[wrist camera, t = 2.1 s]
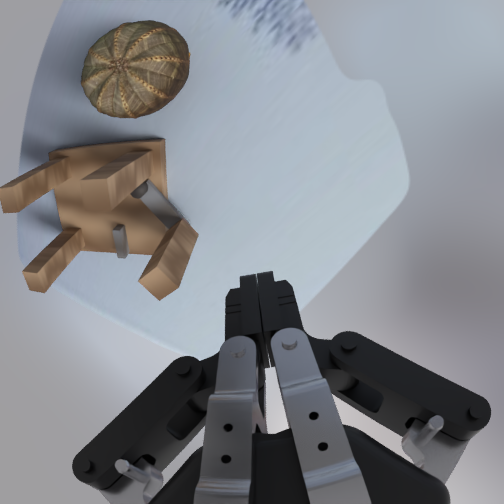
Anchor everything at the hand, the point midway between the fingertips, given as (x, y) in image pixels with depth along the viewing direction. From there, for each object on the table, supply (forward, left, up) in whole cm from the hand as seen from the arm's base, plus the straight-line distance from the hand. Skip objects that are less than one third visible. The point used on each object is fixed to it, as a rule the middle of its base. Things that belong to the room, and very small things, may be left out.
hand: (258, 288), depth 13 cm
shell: (-12, -13, -25) cm, 31 cm away
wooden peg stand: (+5, -21, -25) cm, 33 cm away
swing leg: (+6, -12, -23) cm, 26 cm away
